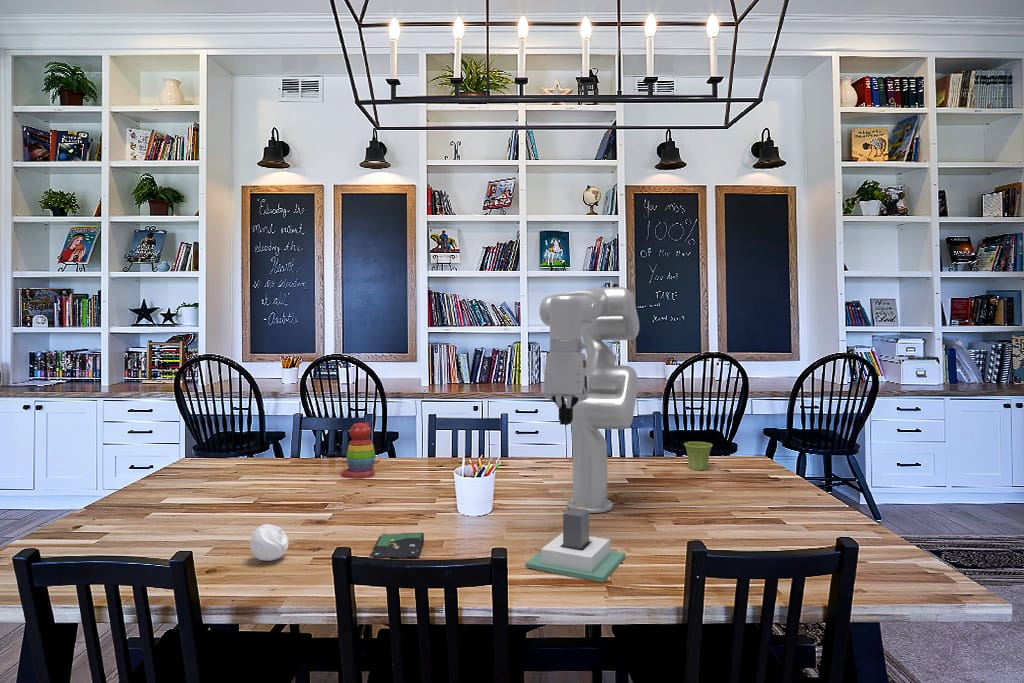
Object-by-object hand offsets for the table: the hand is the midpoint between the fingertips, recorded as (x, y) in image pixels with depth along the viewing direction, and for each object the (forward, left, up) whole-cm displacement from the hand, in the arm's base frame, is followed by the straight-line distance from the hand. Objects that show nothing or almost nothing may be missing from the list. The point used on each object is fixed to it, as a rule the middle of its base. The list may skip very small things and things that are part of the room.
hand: (565, 423), depth 154 cm
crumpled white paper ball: (+43, -52, -27) cm, 73 cm away
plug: (+15, +9, -26) cm, 31 cm away
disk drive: (+27, -29, -28) cm, 49 cm away
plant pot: (-85, +15, -27) cm, 91 cm away
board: (+15, +9, -27) cm, 32 cm away
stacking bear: (-26, -85, -27) cm, 93 cm away
